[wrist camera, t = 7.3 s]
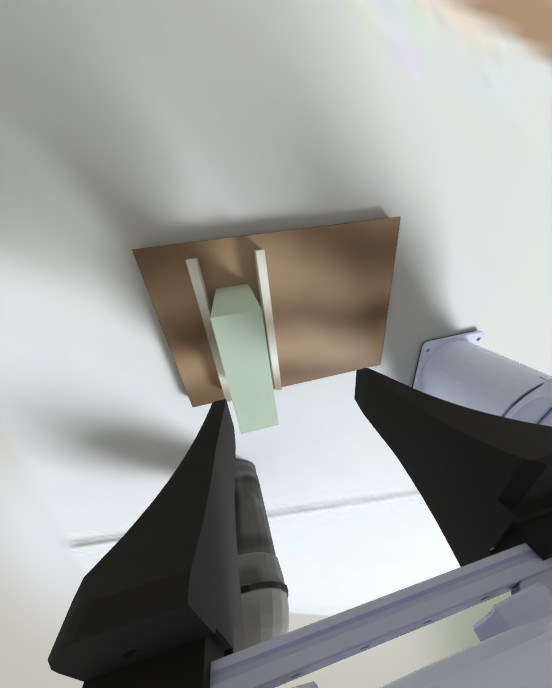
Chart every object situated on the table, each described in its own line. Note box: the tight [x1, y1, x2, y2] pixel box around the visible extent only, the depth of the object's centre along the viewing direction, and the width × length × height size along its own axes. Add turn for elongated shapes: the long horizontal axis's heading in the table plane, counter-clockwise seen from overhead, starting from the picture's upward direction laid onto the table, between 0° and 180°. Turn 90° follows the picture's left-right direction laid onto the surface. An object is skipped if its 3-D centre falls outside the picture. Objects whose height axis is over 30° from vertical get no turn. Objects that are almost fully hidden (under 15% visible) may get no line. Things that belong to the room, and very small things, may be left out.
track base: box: [132, 217, 400, 407], centre depth 19 cm, size 14×20×3 cm
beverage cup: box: [234, 460, 289, 650], centre depth 19 cm, size 7×7×20 cm
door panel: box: [210, 284, 278, 434], centre depth 15 cm, size 8×2×7 cm, turn 6°
